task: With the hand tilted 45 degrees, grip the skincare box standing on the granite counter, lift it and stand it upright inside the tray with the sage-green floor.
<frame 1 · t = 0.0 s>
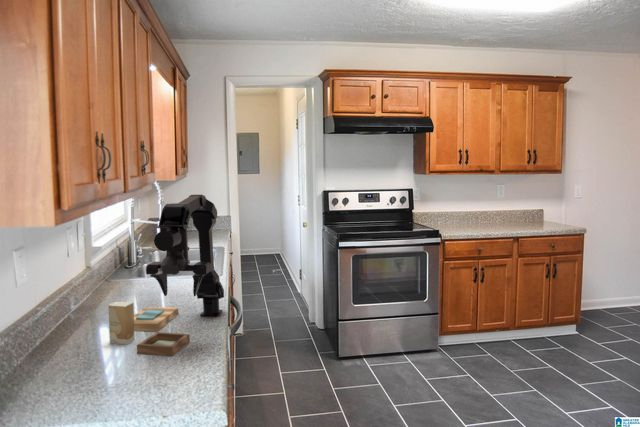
hand: (180, 295, 156), 15 cm above the worktop, tool pointing down, fingers open, 9 cm apart
skincare box: (122, 342, 159), on the worktop
tray: (164, 347, 153), on the worktop
deck: (152, 321, 177), on the worktop
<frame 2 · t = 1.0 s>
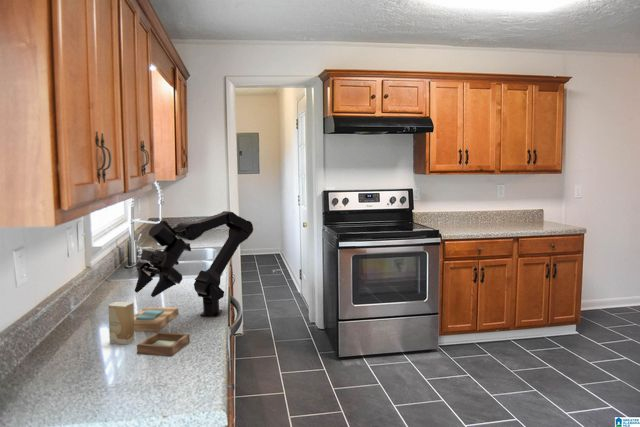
hand: (143, 294, 163), 13 cm above the worktop, tool tilted 45°, fingers open, 9 cm apart
nothing on the worktop moved.
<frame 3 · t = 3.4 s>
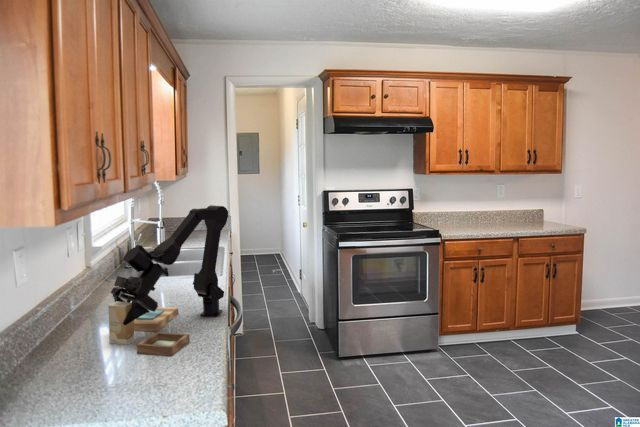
hand: (117, 322, 157), 7 cm above the worktop, tool tilted 45°, fingers closed on skincare box, 7 cm apart
skincare box: (122, 342, 159), on the worktop, touching gripper
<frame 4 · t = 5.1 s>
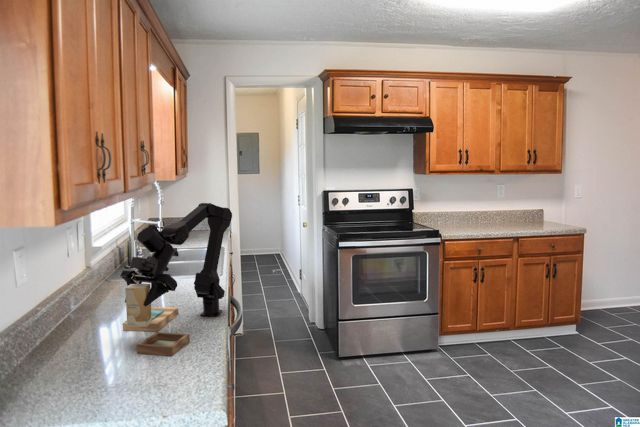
hand: (135, 304, 152), 13 cm above the worktop, tool tilted 45°, fingers closed on skincare box, 7 cm apart
skincare box: (140, 325, 154), point 6 cm above the worktop, touching gripper
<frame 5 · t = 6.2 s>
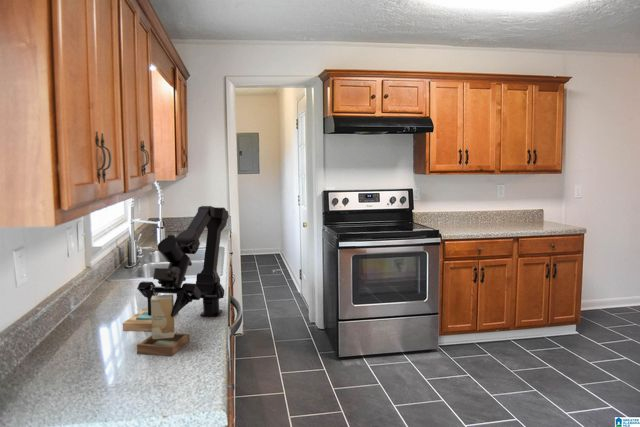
hand: (160, 315, 151), 10 cm above the worktop, tool tilted 45°, fingers closed on skincare box, 7 cm apart
skincare box: (164, 336, 153), point 3 cm above the worktop, touching gripper
when the fingers open (8 cm above the worktop, at t = 7.1 s): skincare box stays where it is, resting on tray.
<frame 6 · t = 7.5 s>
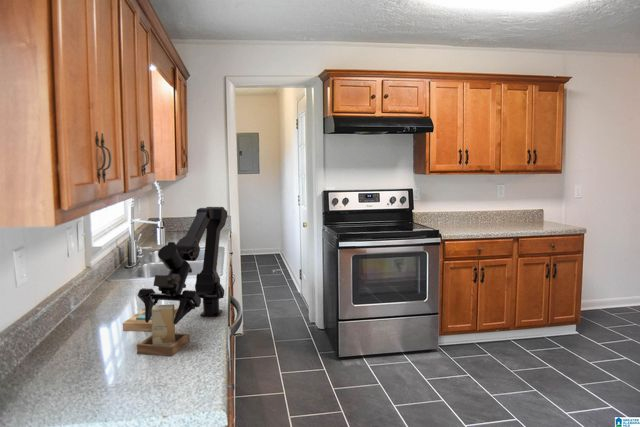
hand: (160, 323, 151), 8 cm above the worktop, tool tilted 45°, fingers open, 9 cm apart
skincare box: (164, 346, 153), resting on tray
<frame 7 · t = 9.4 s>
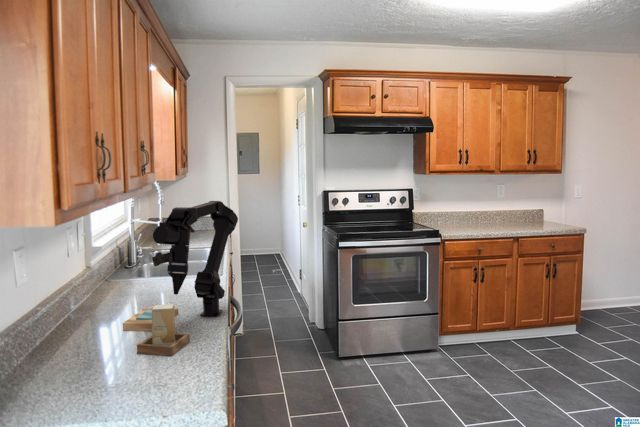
hand: (176, 293, 167), 13 cm above the worktop, tool pointing down, fingers open, 9 cm apart
nothing on the worktop moved.
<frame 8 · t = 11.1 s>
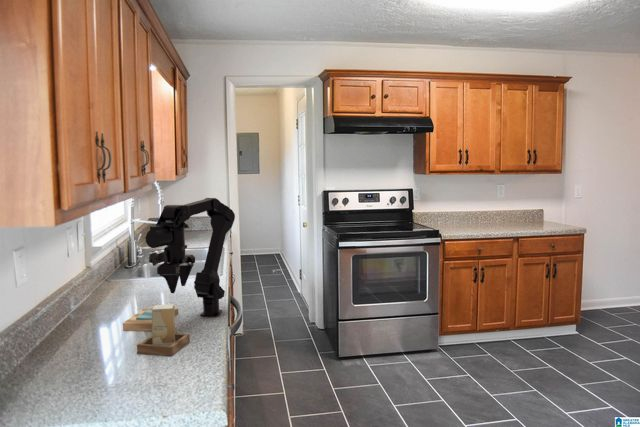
hand: (178, 289, 170), 13 cm above the worktop, tool pointing down, fingers open, 9 cm apart
nothing on the worktop moved.
at the end: skincare box inside the target area on the tray (0.2 cm from its centre), point 0.2 cm above the tray's base; skincare box tilted 0°; the gripper is holding nothing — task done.
